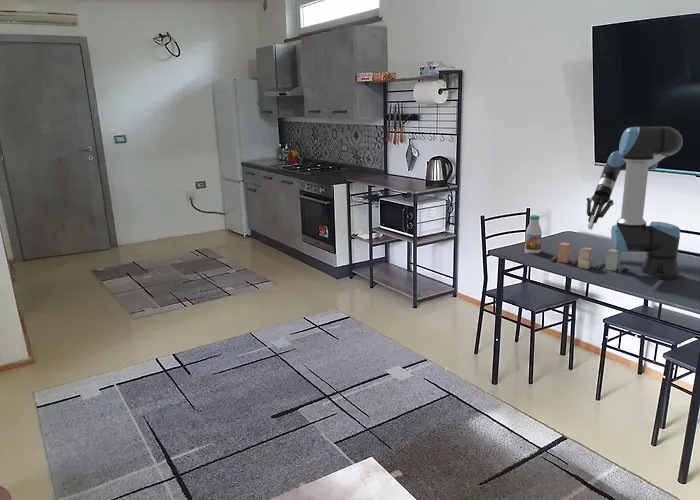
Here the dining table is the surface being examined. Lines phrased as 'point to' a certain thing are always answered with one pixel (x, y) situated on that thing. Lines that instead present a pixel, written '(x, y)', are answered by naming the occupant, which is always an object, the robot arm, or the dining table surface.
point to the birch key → (585, 258)
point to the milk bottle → (533, 236)
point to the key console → (596, 265)
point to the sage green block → (613, 259)
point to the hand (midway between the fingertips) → (589, 227)
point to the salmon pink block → (564, 252)
